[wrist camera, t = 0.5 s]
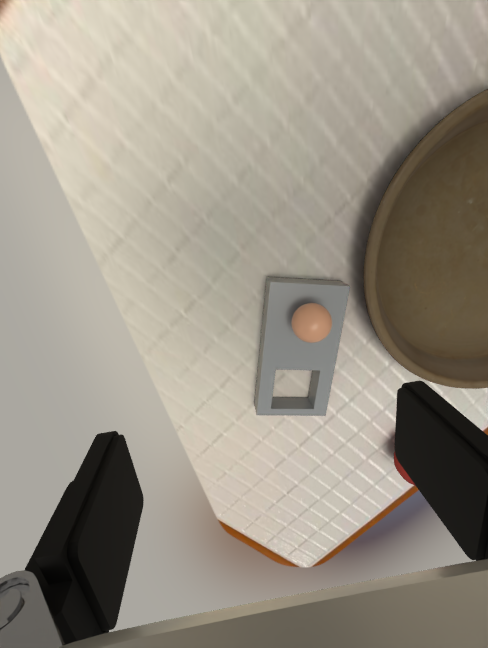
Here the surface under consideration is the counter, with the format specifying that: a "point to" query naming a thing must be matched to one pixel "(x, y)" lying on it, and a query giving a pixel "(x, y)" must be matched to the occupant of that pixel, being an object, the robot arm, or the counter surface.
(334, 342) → the block
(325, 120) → the counter surface
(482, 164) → the plant saucer
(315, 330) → the ball
